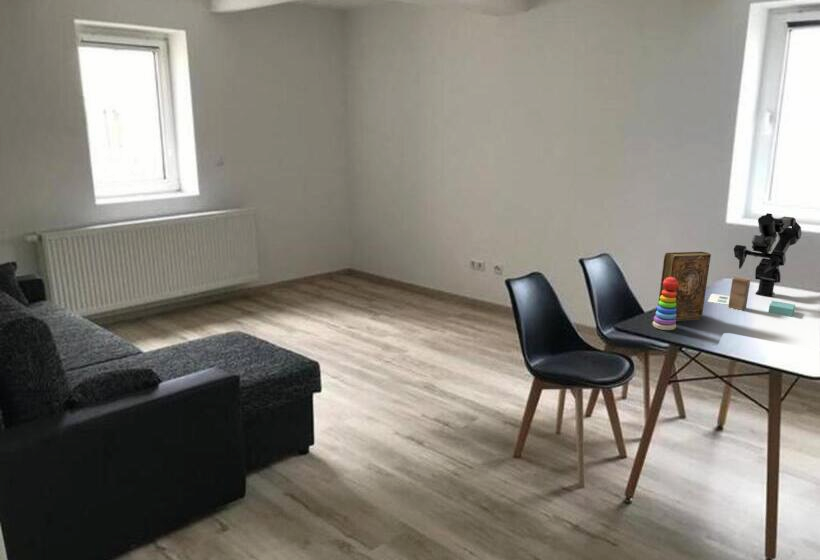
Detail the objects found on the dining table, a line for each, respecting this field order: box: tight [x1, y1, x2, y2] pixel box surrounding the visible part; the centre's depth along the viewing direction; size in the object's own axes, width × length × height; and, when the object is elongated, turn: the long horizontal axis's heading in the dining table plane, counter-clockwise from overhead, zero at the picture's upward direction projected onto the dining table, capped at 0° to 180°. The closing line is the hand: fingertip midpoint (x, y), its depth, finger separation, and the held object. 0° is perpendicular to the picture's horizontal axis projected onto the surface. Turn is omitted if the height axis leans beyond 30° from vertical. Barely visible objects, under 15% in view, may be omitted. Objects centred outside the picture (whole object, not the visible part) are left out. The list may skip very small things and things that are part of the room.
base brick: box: [768, 300, 796, 318], centre depth 256 cm, size 8×8×3 cm
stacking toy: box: [652, 277, 678, 331], centre depth 233 cm, size 8×8×19 cm
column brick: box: [727, 276, 751, 311], centre depth 259 cm, size 5×5×12 cm
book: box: [656, 251, 712, 322], centre depth 243 cm, size 16×6×25 cm, turn 102°
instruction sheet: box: [707, 293, 730, 306], centre depth 271 cm, size 14×10×1 cm
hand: (751, 270), depth 261 cm, fingers open, 9 cm apart
